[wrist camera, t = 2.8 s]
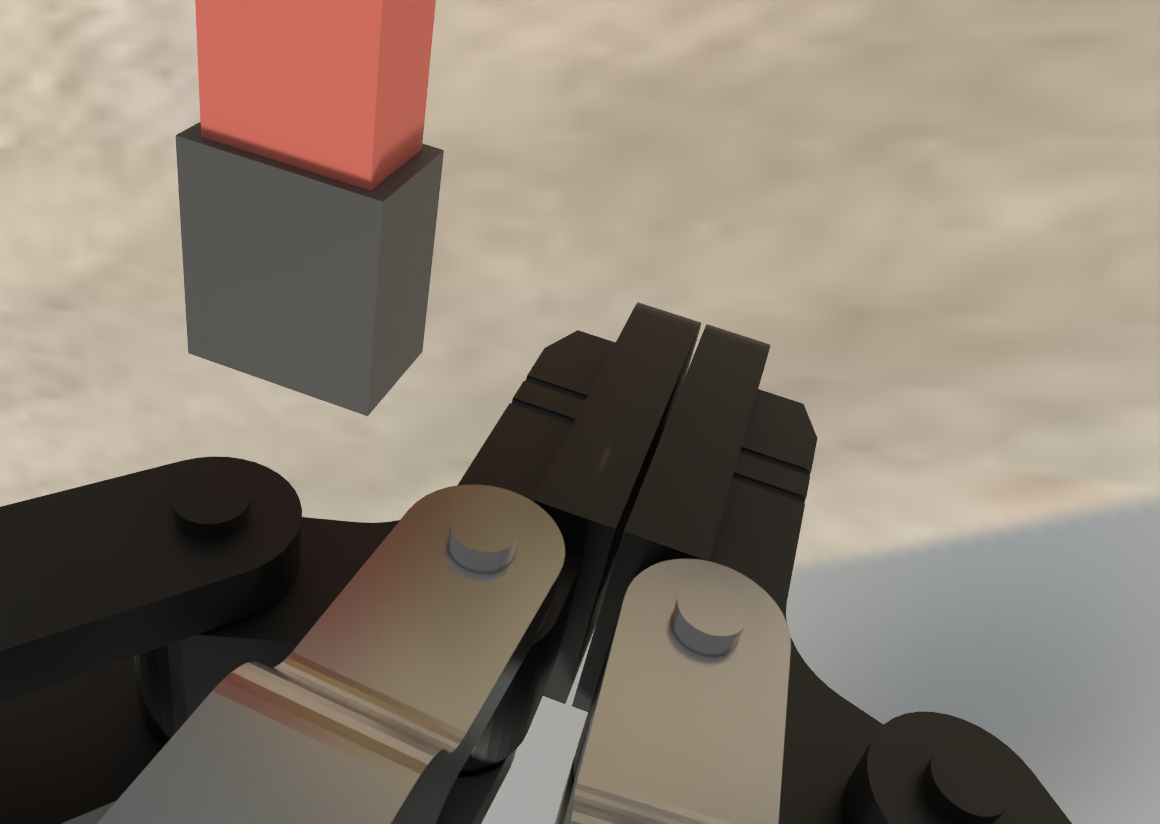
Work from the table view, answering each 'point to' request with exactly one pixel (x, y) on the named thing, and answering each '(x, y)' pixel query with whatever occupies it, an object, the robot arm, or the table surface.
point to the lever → (310, 193)
